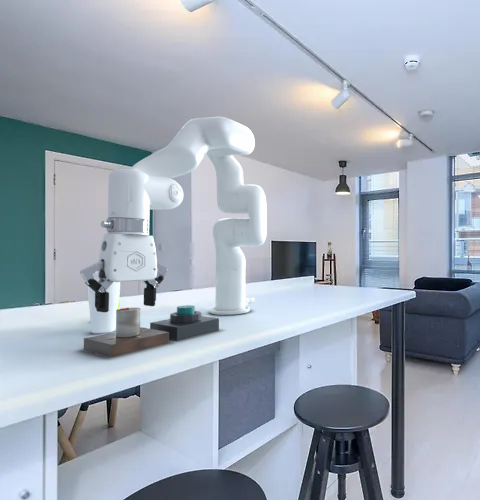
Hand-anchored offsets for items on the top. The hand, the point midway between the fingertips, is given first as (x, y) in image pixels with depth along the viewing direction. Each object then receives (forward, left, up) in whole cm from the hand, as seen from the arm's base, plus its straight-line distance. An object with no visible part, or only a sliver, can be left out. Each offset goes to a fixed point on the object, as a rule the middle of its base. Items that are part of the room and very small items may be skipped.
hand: (127, 308), depth 74 cm
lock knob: (0, 0, -6) cm, 6 cm away
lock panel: (0, 0, -8) cm, 8 cm away
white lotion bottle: (-5, -19, -8) cm, 22 cm away
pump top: (-14, 0, -4) cm, 15 cm away
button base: (-14, 0, -8) cm, 17 cm away
